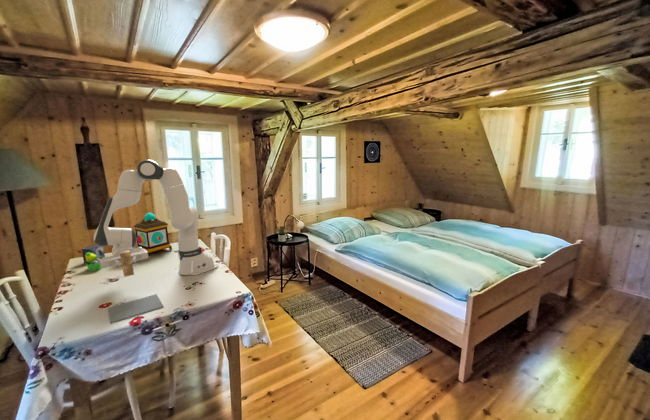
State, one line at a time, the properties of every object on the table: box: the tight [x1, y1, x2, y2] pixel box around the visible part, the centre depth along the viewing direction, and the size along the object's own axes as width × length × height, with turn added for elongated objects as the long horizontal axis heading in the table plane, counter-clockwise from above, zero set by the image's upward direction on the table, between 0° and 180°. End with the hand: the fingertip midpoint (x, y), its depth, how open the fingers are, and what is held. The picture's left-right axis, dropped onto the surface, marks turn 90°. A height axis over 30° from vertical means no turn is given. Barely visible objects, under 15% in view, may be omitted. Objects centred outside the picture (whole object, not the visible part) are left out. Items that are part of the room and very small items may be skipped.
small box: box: [81, 243, 106, 264], centre depth 198 cm, size 11×6×10 cm, turn 168°
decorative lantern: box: [132, 212, 173, 258], centre depth 213 cm, size 20×20×30 cm
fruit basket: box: [85, 252, 106, 272], centre depth 185 cm, size 11×9×11 cm
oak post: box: [120, 250, 135, 278], centre depth 144 cm, size 4×4×12 cm
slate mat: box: [107, 293, 164, 324], centre depth 135 cm, size 20×16×1 cm
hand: (126, 262), depth 143 cm, fingers closed on oak post, 4 cm apart
